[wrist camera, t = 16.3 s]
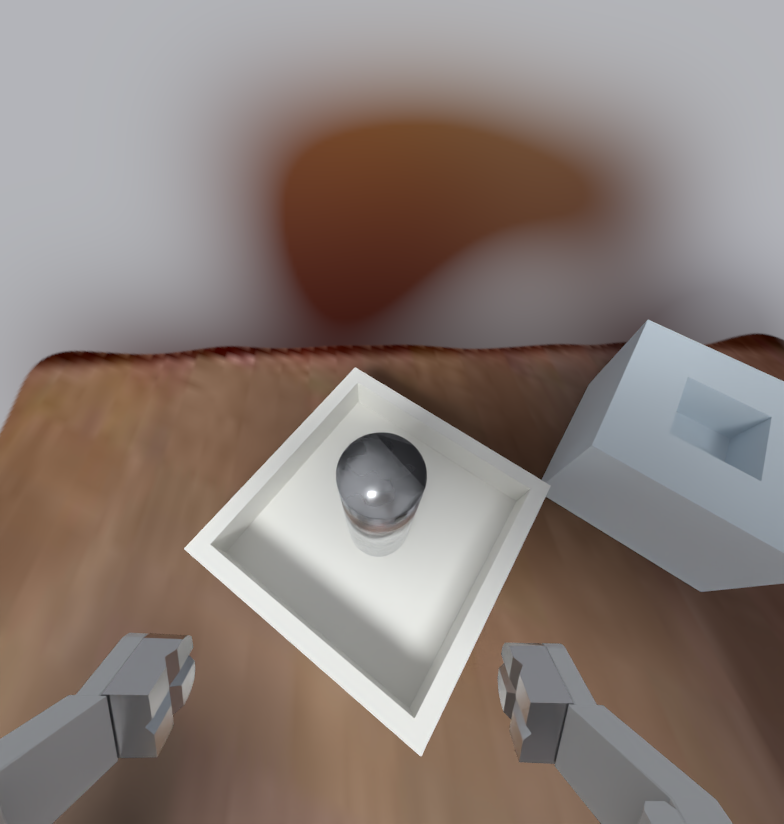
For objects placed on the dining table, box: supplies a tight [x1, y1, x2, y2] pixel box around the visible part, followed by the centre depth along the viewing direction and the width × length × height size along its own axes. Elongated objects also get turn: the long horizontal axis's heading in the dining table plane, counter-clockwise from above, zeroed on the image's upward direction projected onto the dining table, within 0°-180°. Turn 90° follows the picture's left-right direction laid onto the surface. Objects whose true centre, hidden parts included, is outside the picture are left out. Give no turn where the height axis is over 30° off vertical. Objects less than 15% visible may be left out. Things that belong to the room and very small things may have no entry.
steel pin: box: [336, 432, 427, 557], centre depth 21 cm, size 4×4×10 cm
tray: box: [184, 367, 551, 756], centre depth 24 cm, size 16×16×4 cm
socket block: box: [542, 320, 784, 592], centre depth 25 cm, size 12×12×8 cm
